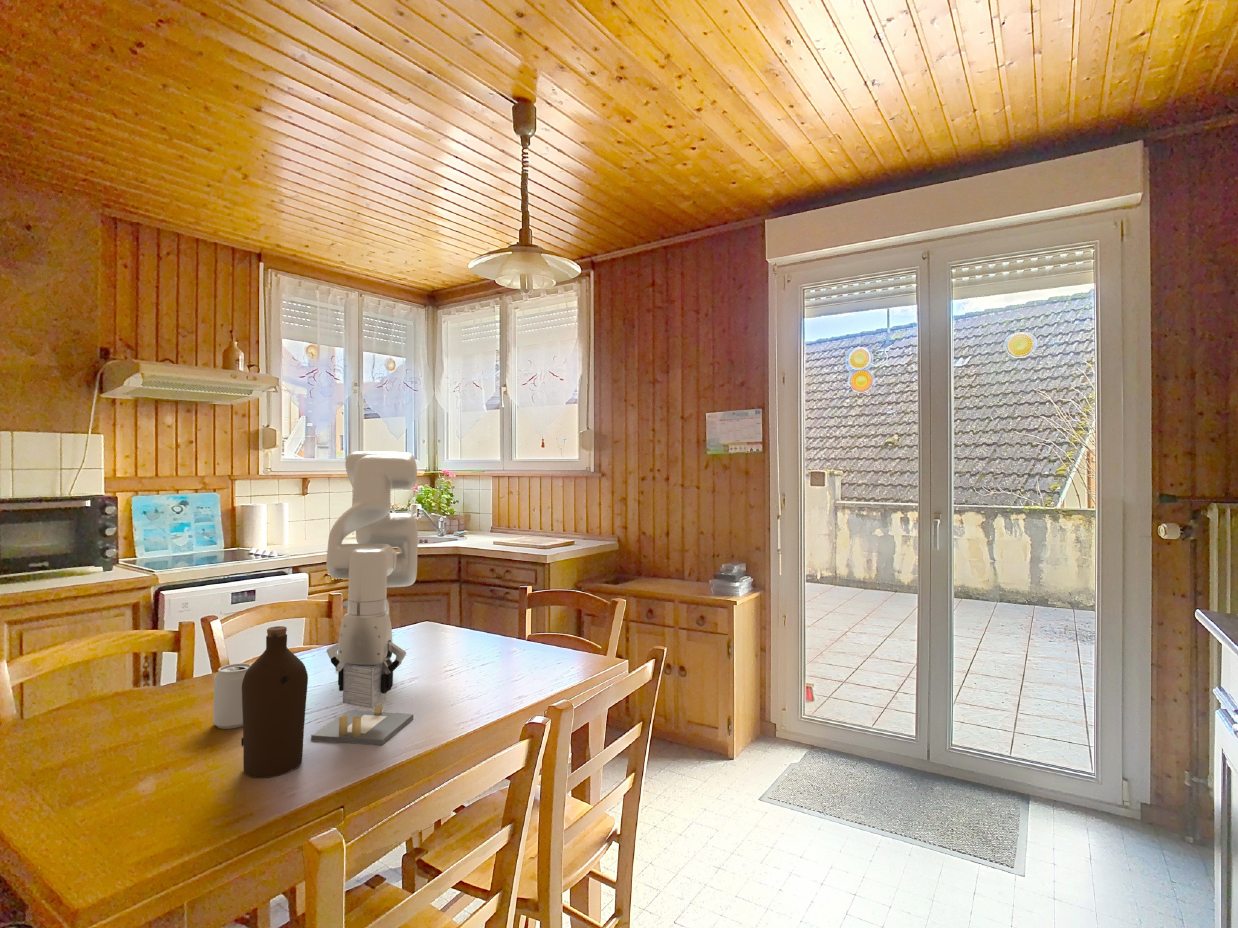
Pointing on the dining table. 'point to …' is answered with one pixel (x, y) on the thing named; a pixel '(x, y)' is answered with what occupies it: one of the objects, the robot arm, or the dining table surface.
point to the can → (229, 696)
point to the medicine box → (363, 685)
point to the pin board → (363, 727)
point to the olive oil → (274, 709)
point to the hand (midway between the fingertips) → (365, 689)
